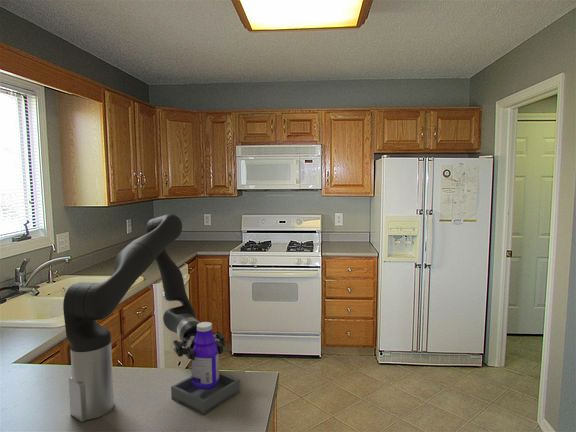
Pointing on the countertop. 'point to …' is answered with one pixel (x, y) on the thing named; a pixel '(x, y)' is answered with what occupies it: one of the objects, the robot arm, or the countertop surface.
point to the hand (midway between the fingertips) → (207, 353)
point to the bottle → (205, 358)
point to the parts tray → (205, 393)
